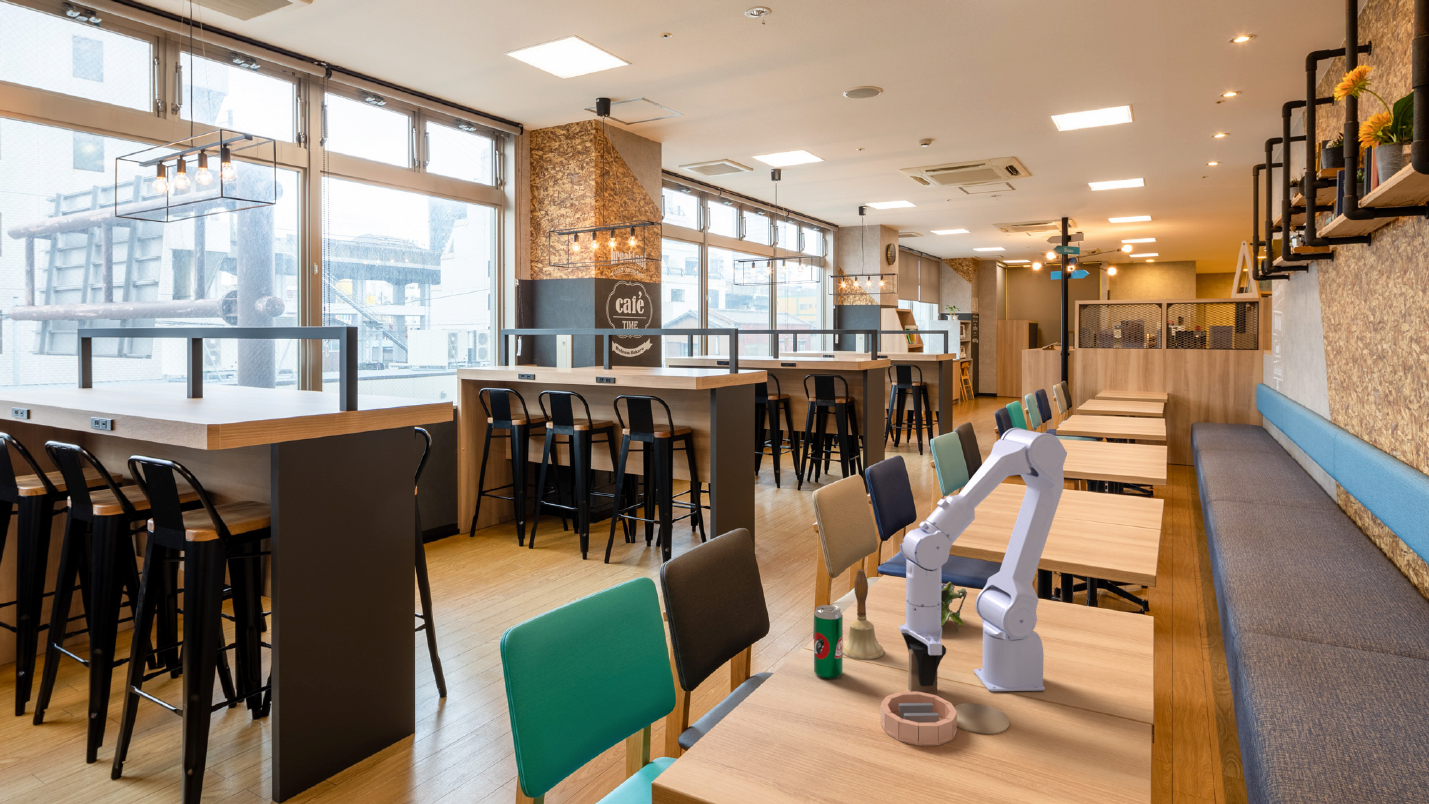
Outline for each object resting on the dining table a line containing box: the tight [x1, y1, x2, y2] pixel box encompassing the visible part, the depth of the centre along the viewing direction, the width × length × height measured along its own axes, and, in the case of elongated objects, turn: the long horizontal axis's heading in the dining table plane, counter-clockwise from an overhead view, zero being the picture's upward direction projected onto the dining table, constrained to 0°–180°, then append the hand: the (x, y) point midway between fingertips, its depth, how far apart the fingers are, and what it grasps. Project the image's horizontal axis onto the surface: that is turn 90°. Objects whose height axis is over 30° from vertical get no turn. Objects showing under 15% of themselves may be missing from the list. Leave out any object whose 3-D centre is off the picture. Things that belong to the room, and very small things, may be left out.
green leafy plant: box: [941, 581, 968, 632], centre depth 158 cm, size 11×11×12 cm
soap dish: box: [880, 691, 958, 747], centre depth 118 cm, size 11×11×3 cm
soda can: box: [813, 604, 844, 680], centre depth 136 cm, size 5×5×12 cm
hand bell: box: [843, 568, 885, 661], centre depth 146 cm, size 8×8×16 cm
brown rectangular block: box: [908, 649, 938, 694], centre depth 130 cm, size 4×2×7 cm, turn 90°
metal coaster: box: [953, 702, 1010, 735], centre depth 120 cm, size 9×9×1 cm
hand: (922, 679), depth 130 cm, fingers open, 4 cm apart
